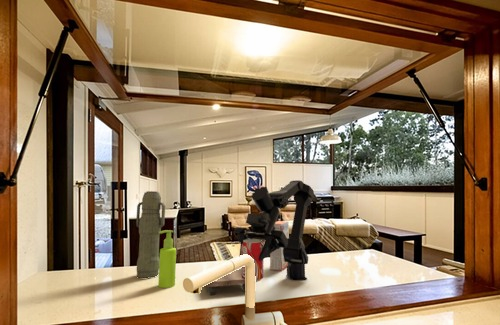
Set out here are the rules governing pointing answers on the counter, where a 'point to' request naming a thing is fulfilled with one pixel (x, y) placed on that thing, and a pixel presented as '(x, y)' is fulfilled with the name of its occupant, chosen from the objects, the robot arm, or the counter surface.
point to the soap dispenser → (167, 262)
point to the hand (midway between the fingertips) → (249, 258)
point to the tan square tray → (227, 281)
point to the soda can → (253, 256)
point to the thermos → (149, 234)
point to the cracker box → (277, 255)
